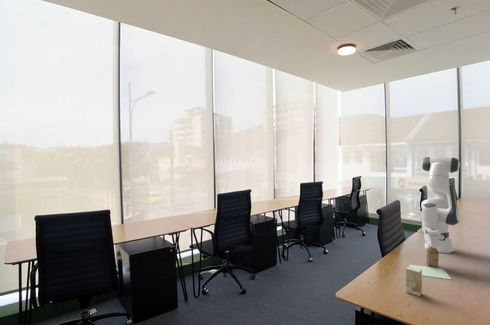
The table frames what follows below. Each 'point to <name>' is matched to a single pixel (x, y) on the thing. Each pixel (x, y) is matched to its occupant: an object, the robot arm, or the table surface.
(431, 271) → the mat
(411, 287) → the skincare box
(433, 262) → the block
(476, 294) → the table surface
